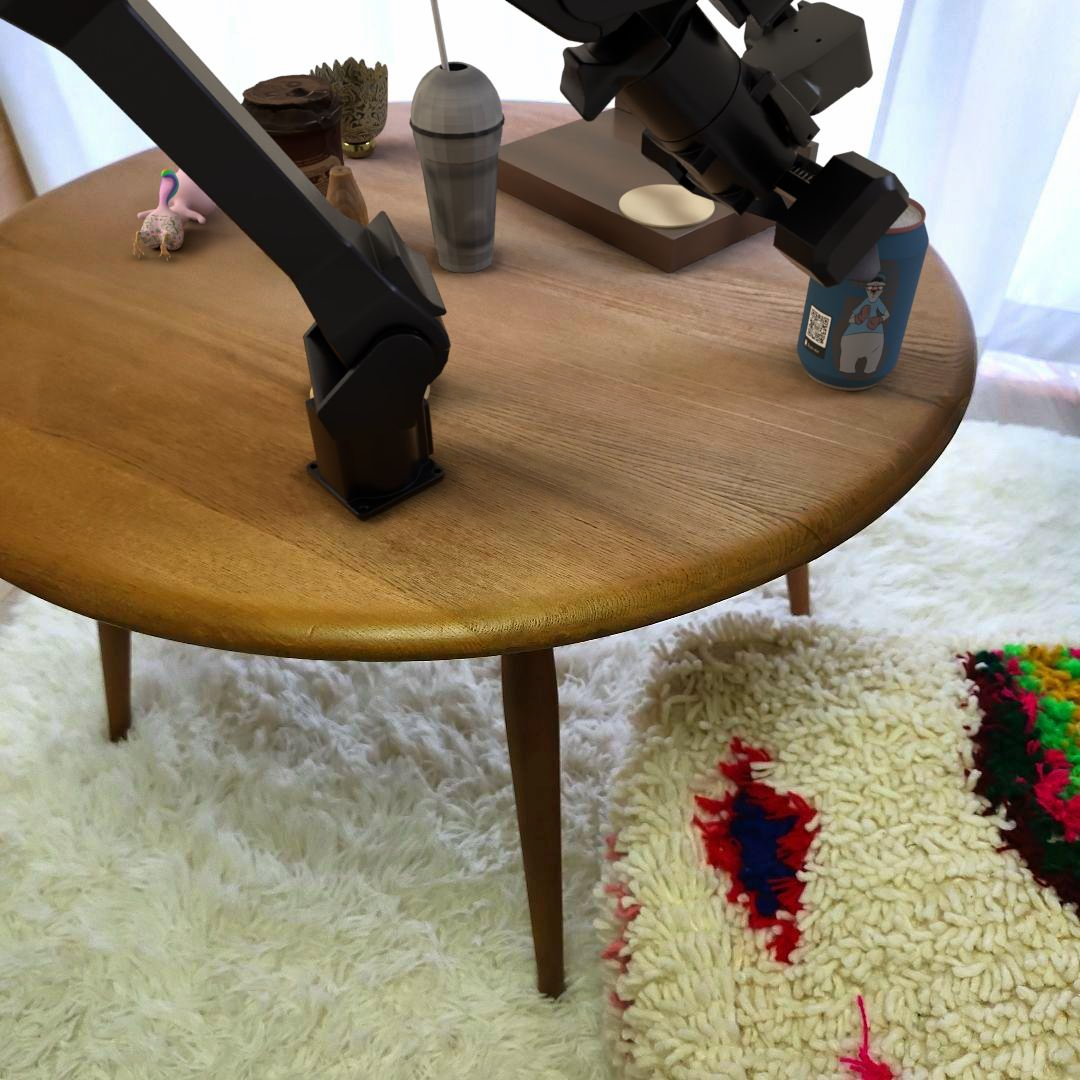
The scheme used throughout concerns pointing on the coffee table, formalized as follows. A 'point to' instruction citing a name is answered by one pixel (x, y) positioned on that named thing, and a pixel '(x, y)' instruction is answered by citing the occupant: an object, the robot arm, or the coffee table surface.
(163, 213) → the rabbit figure
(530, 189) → the shelf
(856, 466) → the coffee table surface
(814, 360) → the soda can
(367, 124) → the cup
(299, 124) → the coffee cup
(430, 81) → the beverage cup
